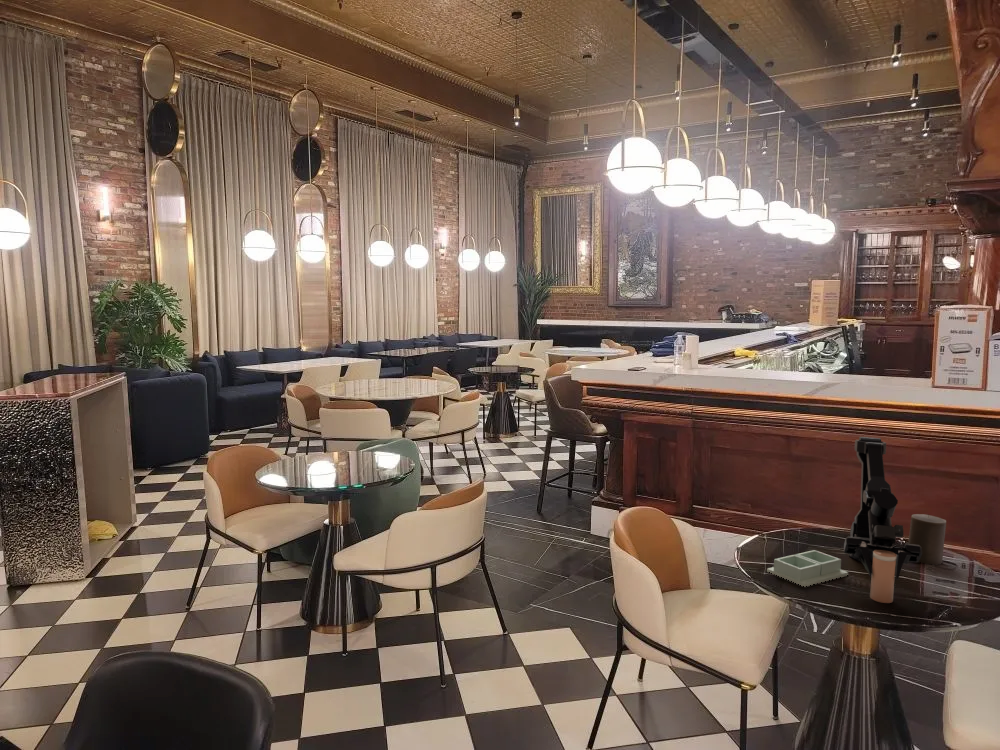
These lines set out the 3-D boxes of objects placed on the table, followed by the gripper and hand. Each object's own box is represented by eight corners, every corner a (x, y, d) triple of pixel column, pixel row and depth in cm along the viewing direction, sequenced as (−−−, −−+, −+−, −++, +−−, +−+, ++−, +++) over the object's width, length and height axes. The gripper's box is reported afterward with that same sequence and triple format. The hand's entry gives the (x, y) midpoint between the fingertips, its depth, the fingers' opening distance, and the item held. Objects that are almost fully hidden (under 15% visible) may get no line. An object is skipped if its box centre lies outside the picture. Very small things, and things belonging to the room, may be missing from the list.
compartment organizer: (809, 561, 218) (810, 547, 218) (848, 575, 207) (849, 560, 207) (767, 571, 209) (767, 557, 208) (804, 587, 197) (805, 571, 197)
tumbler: (881, 594, 194) (885, 549, 193) (897, 602, 188) (901, 556, 187) (865, 595, 192) (868, 550, 191) (880, 603, 187) (884, 557, 186)
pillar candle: (915, 563, 219) (920, 517, 217) (901, 553, 228) (906, 508, 227) (948, 566, 217) (953, 520, 216) (933, 555, 227) (937, 511, 226)
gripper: (847, 508, 195) (849, 559, 186) (923, 516, 189) (929, 569, 179) (842, 527, 203) (844, 577, 194) (915, 536, 197) (920, 587, 187)
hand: (883, 577), depth 188 cm, fingers open, 6 cm apart
